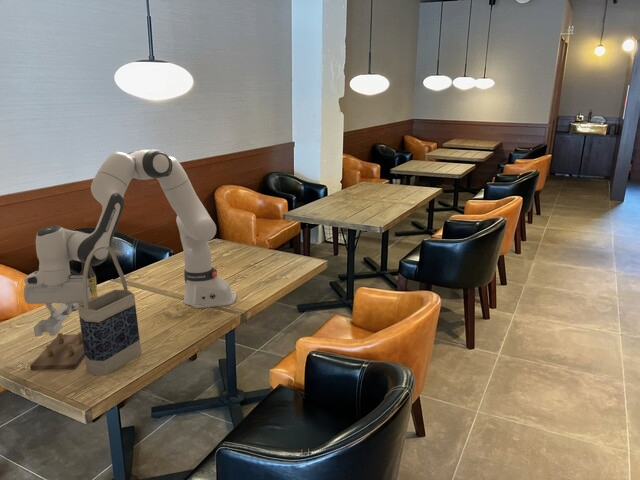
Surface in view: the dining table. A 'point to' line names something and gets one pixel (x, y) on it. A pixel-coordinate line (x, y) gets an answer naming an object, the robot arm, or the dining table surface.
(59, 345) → the peg rack
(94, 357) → the bag
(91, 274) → the sauce bottle
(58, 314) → the ball-tipped notched rod
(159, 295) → the dining table surface
